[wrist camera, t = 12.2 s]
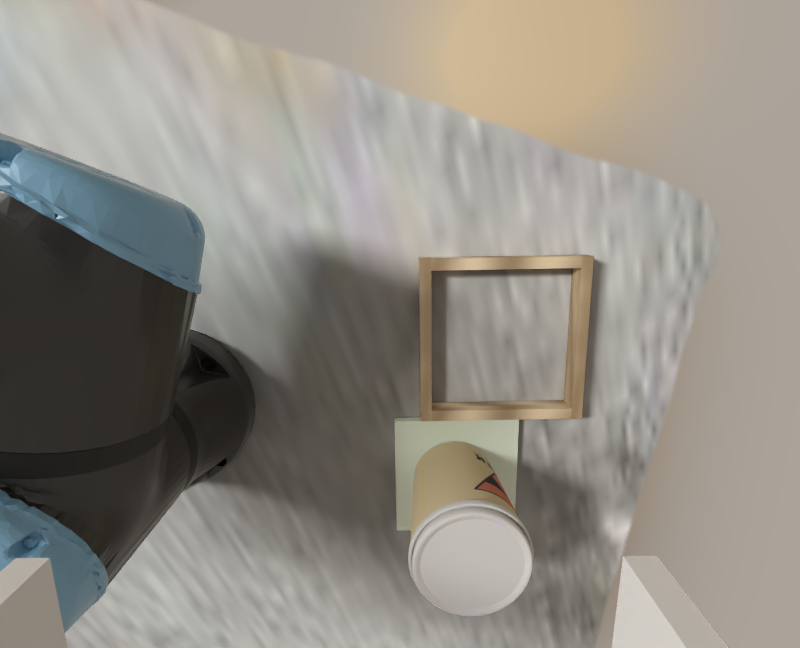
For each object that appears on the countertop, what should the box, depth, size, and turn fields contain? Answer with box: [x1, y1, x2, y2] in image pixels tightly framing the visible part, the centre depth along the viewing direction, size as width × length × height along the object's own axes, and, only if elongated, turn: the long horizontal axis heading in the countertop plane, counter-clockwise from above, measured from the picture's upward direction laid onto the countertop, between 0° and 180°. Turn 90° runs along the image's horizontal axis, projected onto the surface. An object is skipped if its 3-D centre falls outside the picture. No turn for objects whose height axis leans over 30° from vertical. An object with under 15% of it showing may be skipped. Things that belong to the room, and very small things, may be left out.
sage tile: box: [394, 417, 519, 531], centre depth 44 cm, size 12×12×1 cm
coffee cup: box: [408, 441, 534, 617], centre depth 38 cm, size 9×9×12 cm
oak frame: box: [419, 255, 594, 421], centre depth 41 cm, size 15×15×2 cm
